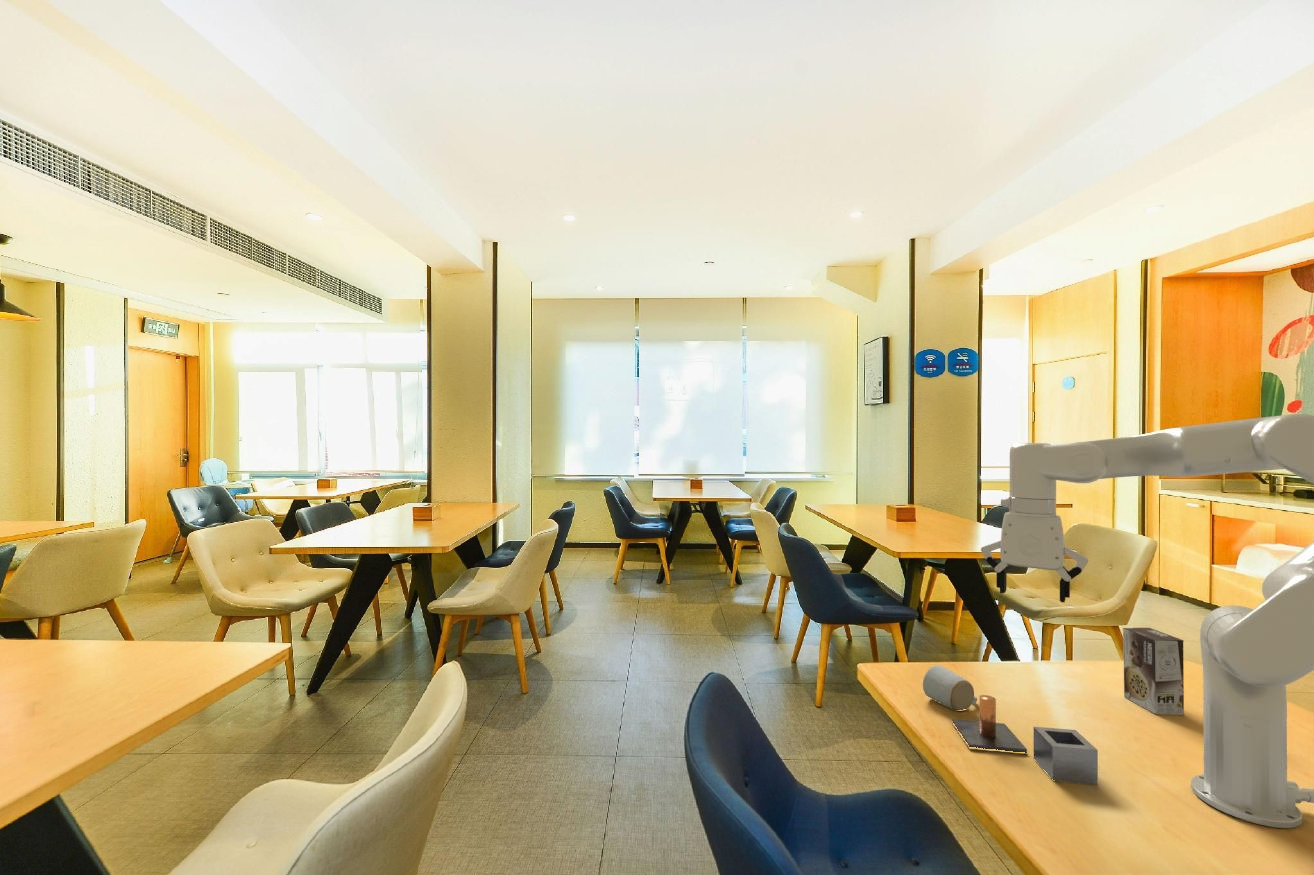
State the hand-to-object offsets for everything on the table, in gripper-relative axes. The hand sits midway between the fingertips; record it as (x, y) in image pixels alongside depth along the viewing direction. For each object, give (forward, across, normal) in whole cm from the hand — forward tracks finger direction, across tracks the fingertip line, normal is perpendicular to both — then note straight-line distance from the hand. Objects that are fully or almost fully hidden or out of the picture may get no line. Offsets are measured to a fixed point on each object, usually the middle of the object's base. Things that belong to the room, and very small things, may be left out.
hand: (1032, 596), depth 111 cm
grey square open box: (+29, +6, -6) cm, 30 cm away
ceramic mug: (+30, -16, +11) cm, 35 cm away
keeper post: (+29, -7, -1) cm, 30 cm away
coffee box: (+29, +19, +38) cm, 52 cm away
